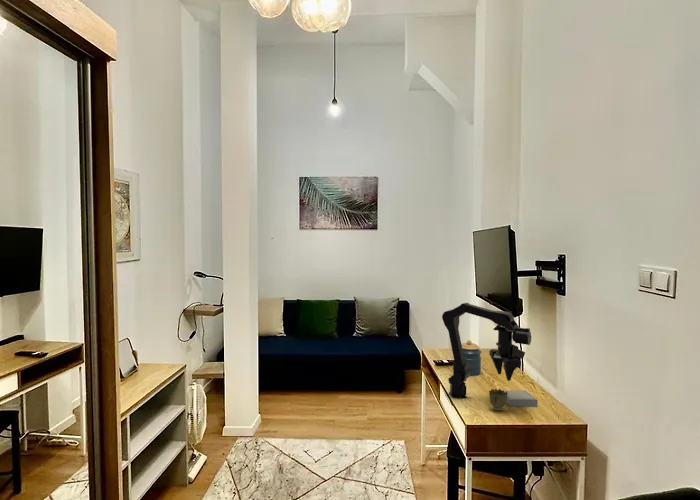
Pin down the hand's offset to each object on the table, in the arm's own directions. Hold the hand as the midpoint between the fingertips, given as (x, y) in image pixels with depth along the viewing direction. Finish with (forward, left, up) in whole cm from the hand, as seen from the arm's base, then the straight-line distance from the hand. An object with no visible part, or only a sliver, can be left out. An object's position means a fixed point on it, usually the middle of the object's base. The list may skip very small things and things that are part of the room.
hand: (504, 377), depth 194 cm
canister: (+1, +50, -13) cm, 52 cm away
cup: (-4, -5, -13) cm, 14 cm away
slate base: (+9, +5, -13) cm, 16 cm away
